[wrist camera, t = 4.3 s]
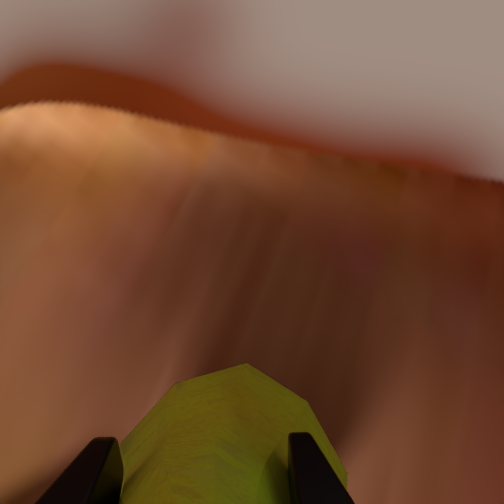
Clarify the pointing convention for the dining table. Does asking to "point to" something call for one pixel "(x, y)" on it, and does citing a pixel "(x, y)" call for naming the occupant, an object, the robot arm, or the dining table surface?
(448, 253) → the dining table surface
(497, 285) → the dining table surface
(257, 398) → the fruit
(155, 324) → the dining table surface
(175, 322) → the dining table surface
